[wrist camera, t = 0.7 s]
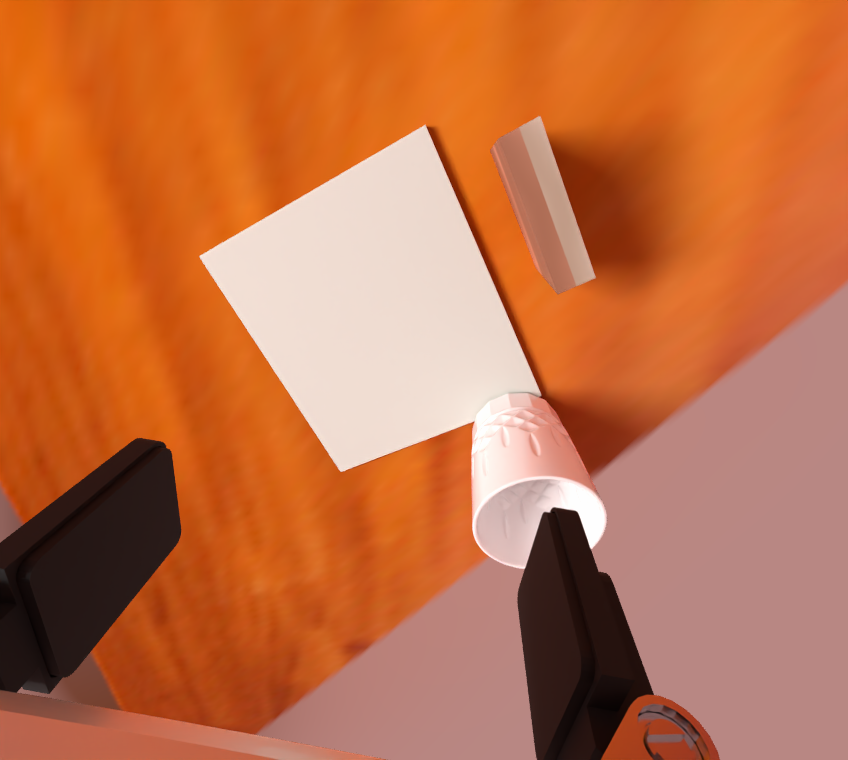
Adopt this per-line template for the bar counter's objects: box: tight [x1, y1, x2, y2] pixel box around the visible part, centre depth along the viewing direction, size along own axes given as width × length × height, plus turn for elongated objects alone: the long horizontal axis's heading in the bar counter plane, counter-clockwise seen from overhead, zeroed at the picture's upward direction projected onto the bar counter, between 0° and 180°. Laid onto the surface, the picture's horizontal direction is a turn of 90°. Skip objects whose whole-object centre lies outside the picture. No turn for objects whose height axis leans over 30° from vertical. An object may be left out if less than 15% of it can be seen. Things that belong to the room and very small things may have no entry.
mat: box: [199, 125, 542, 472], centre depth 33 cm, size 18×20×1 cm
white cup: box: [471, 393, 607, 569], centre depth 31 cm, size 8×8×10 cm
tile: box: [490, 116, 596, 294], centre depth 25 cm, size 2×8×8 cm, turn 26°
